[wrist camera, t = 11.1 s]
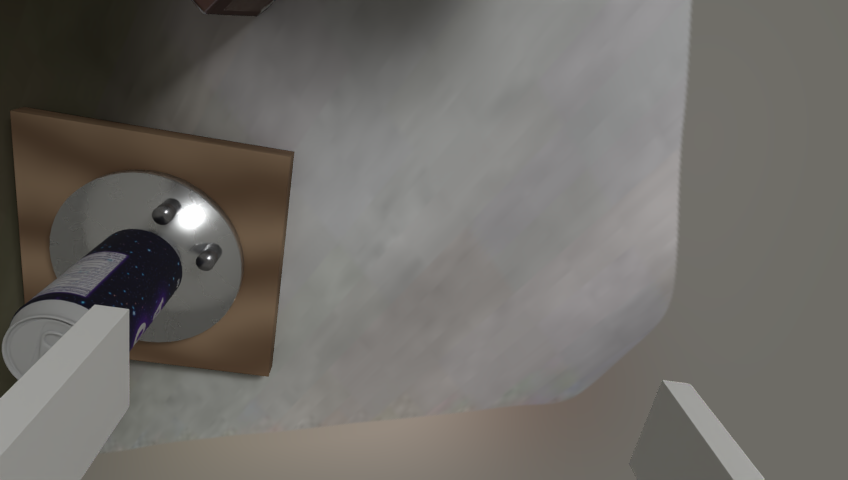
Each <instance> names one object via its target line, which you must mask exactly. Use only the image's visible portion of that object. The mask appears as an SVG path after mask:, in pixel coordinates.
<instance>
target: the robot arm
mask: <svg viewBox="0 0 848 480" xmlns="http://www.w3.org/2000/svg"><path fill="white" fill-rule="evenodd" d="M128 408H129V309H125V308H117V307H110V306H102V305H94V306H93V307H92V308H91V309H90V310H89V311H88V312H87V313H86V314H85V315H83V316H82V317H81V318H80V319H79V320H78V321H77V322H76V323H75V324H74V325H73V326H72V327H71V328H70V329H69V330H68V331H67V332H66V333H65V334H64V335H63V336H62V337H61V338H60V339H59V340H58V341H57V342H56V343H55V344H54V345H53V346H52V347H51V348H50V349H49V350H48V351H47V352H46V353H45V354H44V355H43V356H42V357H41V358H40V359H39V360H38V361H37V362H36V363H35V364H34V365H33V366H32V367H31V368H30V369H29V370H28V371H27V372H26V373H25V374H24V375H23V376H22V377H21V378H20V379H19V380H18V381H17V382H16V383H15V384H14V385H13V386H12V387H11V388H10V389H9V390H8V391H7V392H6V393H5V394H4V395H3V396H2V397H1V398H0V480H81V478H82V477H83V475H84V474H85V472H86V471H87V469H88V468H89V466H90V465H91V463H92V462H93V460H94V459H95V457H96V456H97V454H98V453H99V451H100V450H101V448H102V447H103V445H104V444H105V442H106V441H107V439H108V438H109V436H110V435H111V433H112V432H113V430H114V429H115V427H116V426H117V424H118V423H119V421H120V420H121V418H122V417H123V415H124V414H125V412H126V411H127V409H128ZM629 465H630V467H631V469H632V470H633V473H634V474H635V476H636V478H637V480H765V479H764V478H763V476H762V475H761V474H760V473H759V471H758V470H757V469H756V467H755V466H754V465H753V464H752V462H751V461H750V460H749V458H748V457H747V456H746V455H745V453H744V452H743V451H742V449H741V448H740V447H739V446H738V444H737V443H736V442H735V440H734V439H733V438H732V437H731V436H730V434H729V433H728V431H727V430H726V429H725V428H724V426H723V425H722V424H721V423H720V422H719V420H718V419H717V417H716V416H715V415H714V414H713V412H712V411H711V410H710V408H709V407H708V406H707V405H706V403H705V402H704V401H703V399H702V398H701V397H700V396H699V394H698V393H697V392H696V391H695V389H694V388H693V387H692V385H691V384H688V383H680V382H673V381H666V380H662V382H661V385H660V387H659V390H658V392H657V395H656V397H655V400H654V402H653V405H652V408H651V410H650V412H649V415H648V417H647V420H646V422H645V425H644V427H643V430H642V432H641V435H640V438H639V440H638V443H637V446H636V448H635V450H634V452H633V455H632V457H631V460H630V463H629Z"/></svg>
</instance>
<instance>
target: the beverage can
mask: <svg viewBox="0 0 848 480" xmlns="http://www.w3.org/2000/svg"><path fill="white" fill-rule="evenodd" d="M181 280H182V265H181V261H180V258H179V256H178V254H177V253H176V251H175V250H174V248H173V247H172V246H171V245H170V244H169V243H168V242H167V241H166V240H164V239H163V238H162V237H160V236H158V235H156V234H154V233H152V232H149V231H146V230H141V229H125V230H121V231H118V232H116V233H114V234H112V235H110V236H109V237H108V238H106V239H105V240H104V241H103V242H101V243H100V244H99V245H98V246H96V247H95V248H94V249H93V250H91V251H90V252H89V253H88V254H87V255H85V256H84V257H83V258H82V259H80V260H79V261H78V262H77V263H75V264H74V265H73V266H72V267H70V268H69V269H68V270H67V271H65V272H64V273H63V274H62V275H61V276H59V277H58V278H57V279H56V280H54V281H53V282H52V283H51V284H49V285H48V286H47V287H46V288H44V289H43V290H42V291H41V292H39V293H38V294H37V295H36V296H34V297H33V298H32V299H31V300H30V301H28V302H27V303H26V304H25V305H23V306H22V307H21V308H20V309H19V310H18V311H17V312H16V313H15V315H14V316H13V318H12V320H11V323H10V327H9V329H8V330H7V332H6V334H5V336H4V338H3V342H2V355H3V359H4V361H5V364H6V366H7V367H8V369H9V371H10V372H11V373H12V374H13V376H14V377H15V378H16V379H17V380H19V379H20V378H21V377H22V376H23V375H24V374H25V373H26V372H27V371H28V370H29V369H30V368H31V367H32V366H33V365H34V364H35V363H36V362H37V361H38V360H39V359H40V358H41V357H42V356H43V355H44V354H45V353H46V352H47V351H48V350H49V349H50V348H51V347H52V346H53V345H54V344H55V343H56V342H57V341H58V340H59V339H60V338H61V337H62V336H63V335H64V334H65V333H66V332H67V331H68V330H69V329H70V328H71V327H72V326H73V325H74V324H75V323H76V322H77V321H78V320H79V319H80V318H81V317H82V316H83V315H85V314H86V313H87V312H88V311H89V310H90V309H91V308H92V307H93V306H94V305H102V306H110V307H117V308H125V309H129V352H130V350H131V349H132V348H133V346H134V345H135V344H136V342H137V341H138V340H139V339H140V337H141V336H142V335H143V333H144V332H145V331H146V329H147V328H148V327H149V325H150V324H151V323H152V322H153V320H154V319H155V318H156V316H157V315H158V314H159V312H160V311H161V310H162V309H163V307H164V306H165V305H166V303H167V302H168V301H169V299H170V298H171V297H172V295H173V294H174V293H175V292H176V290H177V289H178V287H179V285H180V283H181Z"/></svg>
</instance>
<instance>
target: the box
mask: <svg viewBox="0 0 848 480" xmlns="http://www.w3.org/2000/svg"><path fill="white" fill-rule="evenodd" d="M191 1H192V2H193V3H194V4H195V5H196V6H197V7H198V9H199V10H200V11H201V12H202V13H203V14H218V15H240V16H258V15H259V14H260V13H262V12H263V11H264V10H266V9H267V8H268V7H269V5H271V4H272V3H273V2H274V1H275V0H191Z"/></svg>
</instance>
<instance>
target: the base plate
mask: <svg viewBox="0 0 848 480" xmlns="http://www.w3.org/2000/svg"><path fill="white" fill-rule="evenodd" d="M10 117H11V130H12V143H13V156H14V169H15V182H16V195H17V208H18V221H19V234H20V247H21V260H22V273H23V286H24V299H25V304H26V303H27V302H28V301H30V300H31V299H32V298H33V297H34V296H36V295H37V294H38V293H39V292H41V291H42V290H43V289H44V288H46V287H47V286H48V285H49V284H51V283H52V282H53V281H54V280H56V279H57V277H56V275H55V272H54V269H53V266H52V262H51V257H50V249H49V247H50V233H51V228H52V225H53V222H54V219H55V216H56V214H57V213H58V211H59V209H60V207H61V206H62V205H63V203H64V202H65V201H66V200H67V198H68V197H69V196H71V195H72V194H73V193H74V192H75V191H76V190H78V189H79V188H81V187H82V186H84V185H85V184H87V183H89V182H90V181H92V180H94V179H96V178H98V177H100V176H103V175H105V174H109V173H112V172H116V171H122V170H132V169H143V170H153V171H158V172H162V173H167V174H170V175H173V176H175V177H178V178H181V179H183V180H185V181H187V182H189V183H191V184H193V185H194V186H196V187H197V188H199V189H201V190H202V191H203V192H205V193H206V194H207V195H208V196H210V197H211V198H212V199H213V200H214V201H215V202H216V203H217V204H218V205H219V206H220V207H221V208H222V209H223V211H224V212H225V213H226V214H227V216H228V217H229V219H230V220H231V222H232V224H233V225H234V227H235V229H236V231H237V233H238V236H239V238H240V241H241V245H242V248H243V255H244V274H243V281H242V284H241V287H240V290H239V292H238V294H237V296H236V298H235V300H234V302H233V304H232V306H231V307H230V309H229V310H228V311H227V313H226V314H225V315H224V316H223V317H222V318H221V319H220V320H219V321H218V322H217V323H216V324H215V325H213V326H212V327H211V328H209V329H208V330H206V331H204V332H202V333H200V334H198V335H196V336H193V337H191V338H187V339H183V340H179V341H172V342H146V341H140V340H138V341H137V342H136V344H135V345H134V346H133V348H132V349H131V350H130V352H129V359H130V360H138V361H146V362H154V363H162V364H170V365H179V366H187V367H195V368H203V369H211V370H219V371H227V372H235V373H243V374H252V375H260V376H269V373H270V370H271V367H272V361H273V352H274V342H275V332H276V323H277V313H278V303H279V294H280V284H281V274H282V265H283V255H284V245H285V236H286V226H287V216H288V207H289V197H290V187H291V178H292V168H293V158H294V152H292V151H286V150H280V149H274V148H268V147H262V146H256V145H250V144H244V143H238V142H232V141H226V140H220V139H214V138H208V137H202V136H196V135H190V134H184V133H178V132H172V131H166V130H160V129H154V128H148V127H142V126H136V125H130V124H124V123H118V122H111V121H105V120H99V119H93V118H87V117H81V116H75V115H69V114H63V113H57V112H51V111H45V110H39V109H33V108H27V107H22V108H18V109H14V110H11V111H10Z"/></svg>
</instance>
